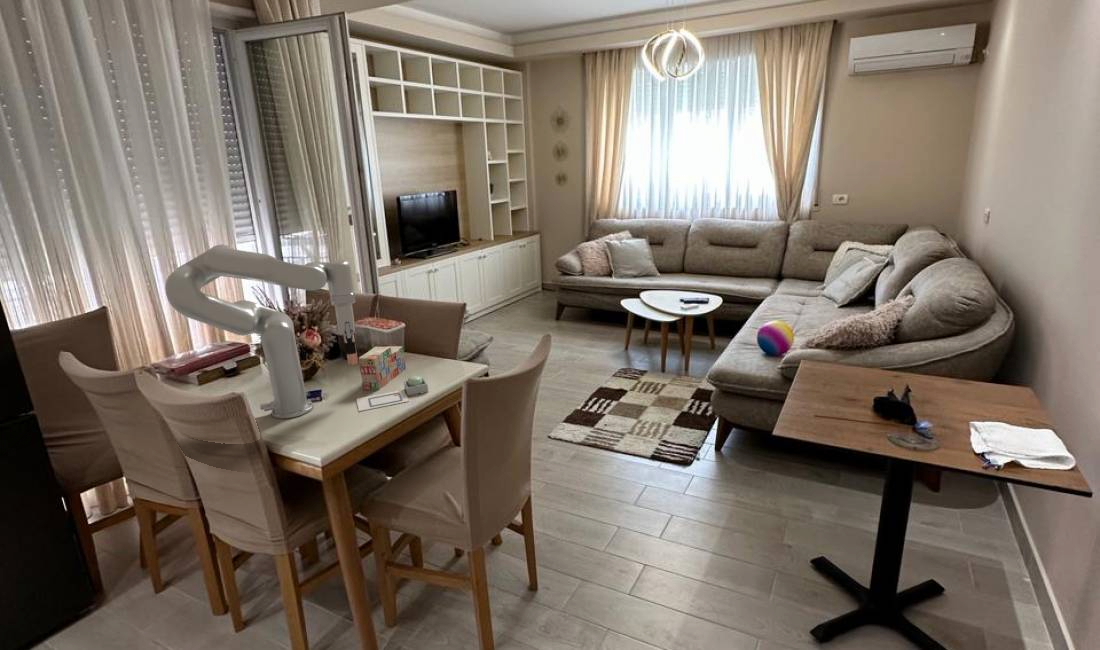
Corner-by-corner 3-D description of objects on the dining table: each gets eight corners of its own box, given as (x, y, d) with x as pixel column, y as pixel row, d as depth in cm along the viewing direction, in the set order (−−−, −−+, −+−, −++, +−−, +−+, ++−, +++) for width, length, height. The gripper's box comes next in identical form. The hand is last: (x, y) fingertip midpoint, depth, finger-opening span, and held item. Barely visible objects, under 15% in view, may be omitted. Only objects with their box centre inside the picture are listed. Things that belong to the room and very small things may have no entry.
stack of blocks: (391, 368, 224) (387, 338, 221) (406, 368, 223) (402, 338, 219) (363, 390, 204) (357, 357, 201) (379, 390, 203) (374, 358, 199)
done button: (410, 390, 197) (409, 381, 196) (407, 385, 201) (406, 377, 201) (424, 387, 199) (423, 379, 198) (421, 382, 203) (420, 374, 202)
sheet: (358, 411, 186) (358, 410, 186) (356, 399, 196) (356, 398, 196) (408, 401, 192) (408, 400, 191) (403, 390, 201) (403, 389, 201)
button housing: (407, 396, 196) (406, 387, 195) (404, 389, 202) (403, 381, 202) (428, 392, 199) (427, 384, 198) (424, 385, 205) (423, 377, 204)
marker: (348, 365, 192) (343, 333, 188) (347, 362, 195) (341, 330, 191) (359, 363, 193) (353, 331, 190) (357, 360, 196) (352, 328, 193)
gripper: (329, 295, 194) (337, 347, 199) (331, 305, 179) (340, 361, 184) (353, 292, 196) (360, 343, 201) (356, 302, 182) (364, 357, 187)
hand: (350, 351), depth 193 cm, fingers closed on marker, 3 cm apart
